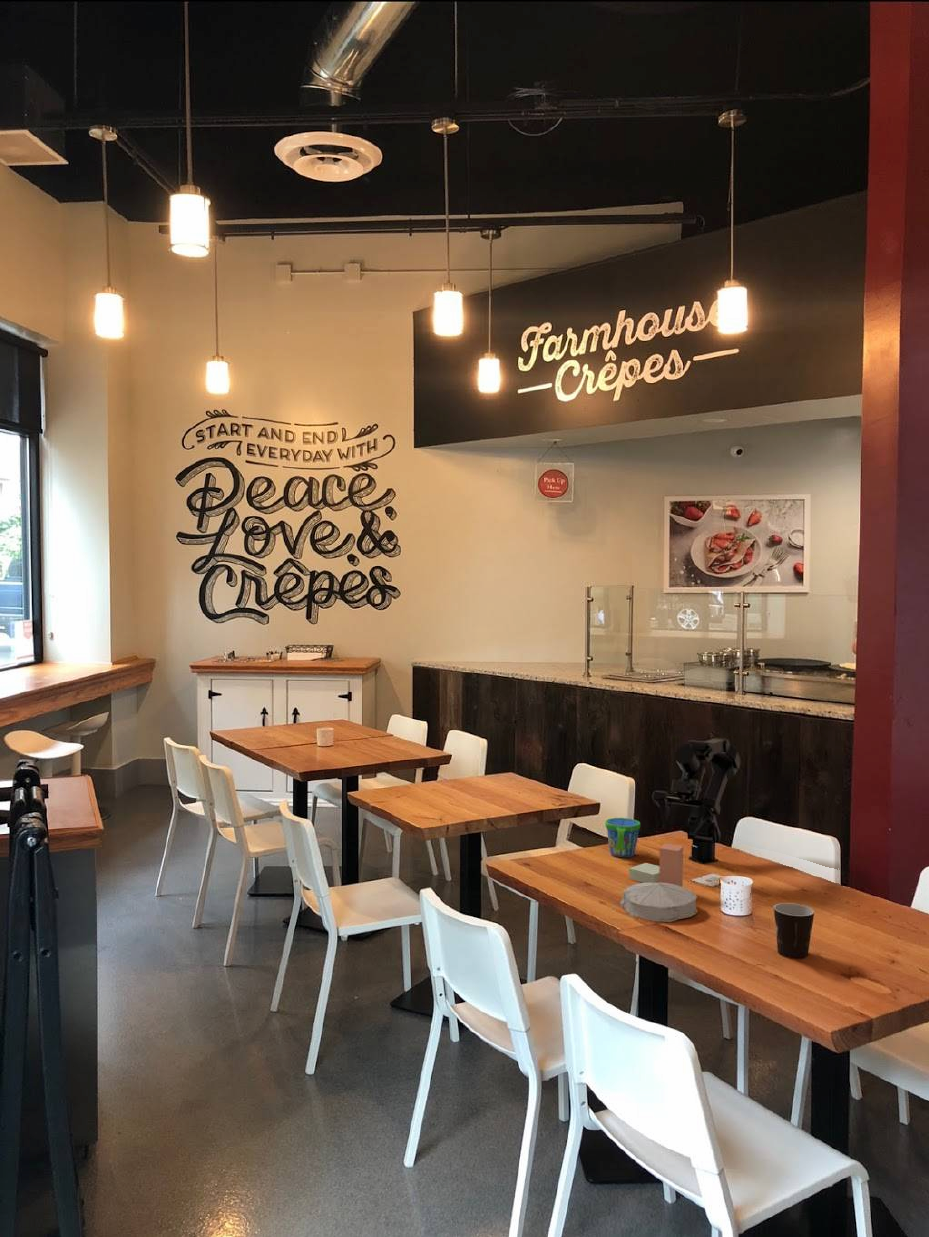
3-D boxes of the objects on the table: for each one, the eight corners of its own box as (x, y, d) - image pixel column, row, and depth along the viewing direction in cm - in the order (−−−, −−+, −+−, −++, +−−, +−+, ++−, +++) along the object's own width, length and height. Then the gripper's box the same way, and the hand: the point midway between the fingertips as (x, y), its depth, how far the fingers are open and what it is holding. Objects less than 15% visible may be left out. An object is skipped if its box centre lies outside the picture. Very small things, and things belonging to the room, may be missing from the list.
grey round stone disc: (714, 920, 239) (715, 892, 239) (642, 926, 233) (643, 898, 233) (673, 895, 258) (674, 870, 258) (605, 900, 252) (606, 875, 252)
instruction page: (712, 874, 275) (712, 873, 275) (733, 880, 270) (733, 879, 270) (690, 880, 269) (690, 879, 269) (711, 886, 263) (711, 885, 263)
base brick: (645, 873, 275) (645, 862, 275) (669, 879, 269) (669, 868, 269) (629, 878, 270) (629, 868, 269) (653, 885, 264) (653, 874, 264)
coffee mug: (781, 943, 222) (782, 900, 222) (818, 952, 216) (819, 908, 216) (761, 957, 213) (762, 913, 213) (799, 968, 207) (801, 922, 207)
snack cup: (635, 863, 285) (635, 829, 284) (599, 859, 288) (600, 825, 288) (643, 850, 299) (644, 817, 299) (610, 846, 303) (610, 814, 303)
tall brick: (664, 887, 262) (665, 843, 262) (682, 890, 260) (683, 846, 260) (658, 892, 258) (659, 848, 258) (677, 895, 256) (678, 850, 255)
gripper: (652, 763, 278) (639, 812, 271) (715, 771, 268) (703, 822, 261) (664, 781, 286) (651, 829, 279) (725, 789, 276) (714, 839, 268)
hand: (678, 829), depth 271 cm, fingers open, 9 cm apart
